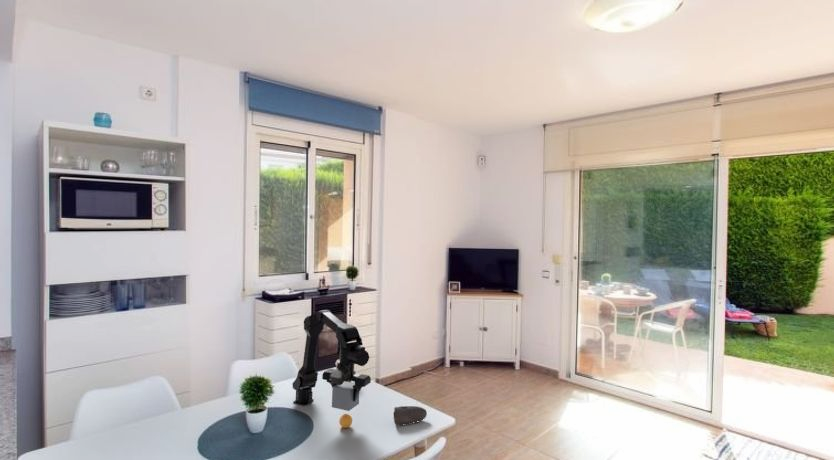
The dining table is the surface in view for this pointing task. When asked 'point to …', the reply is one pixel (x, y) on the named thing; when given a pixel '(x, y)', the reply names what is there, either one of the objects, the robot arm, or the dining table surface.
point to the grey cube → (344, 396)
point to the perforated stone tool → (408, 414)
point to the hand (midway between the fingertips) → (345, 399)
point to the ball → (345, 420)
